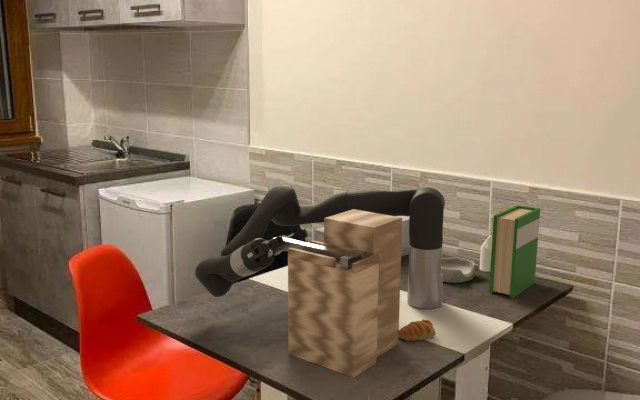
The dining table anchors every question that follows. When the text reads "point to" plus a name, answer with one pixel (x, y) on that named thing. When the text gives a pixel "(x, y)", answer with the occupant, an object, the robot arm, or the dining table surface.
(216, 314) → the dining table surface
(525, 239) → the hardback book
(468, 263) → the dish
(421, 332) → the pastry
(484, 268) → the white bottle
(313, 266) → the stand
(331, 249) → the t handle
